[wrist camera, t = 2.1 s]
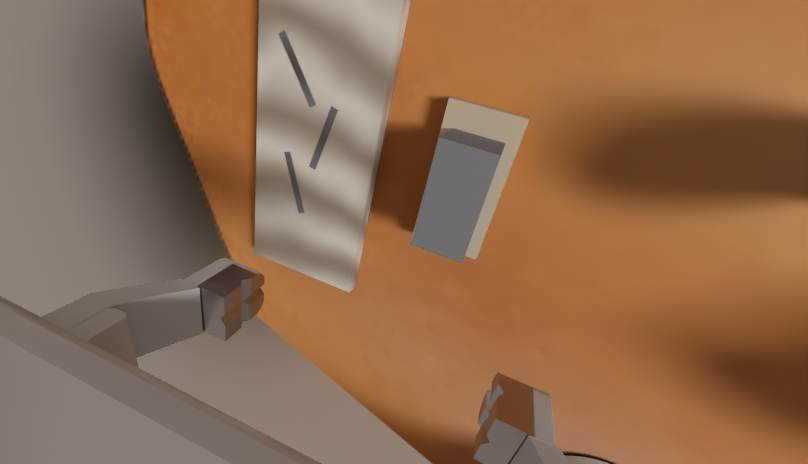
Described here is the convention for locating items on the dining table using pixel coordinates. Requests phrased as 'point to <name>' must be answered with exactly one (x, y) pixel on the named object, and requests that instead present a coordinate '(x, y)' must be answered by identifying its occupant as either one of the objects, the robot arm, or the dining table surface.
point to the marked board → (322, 128)
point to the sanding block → (466, 177)
